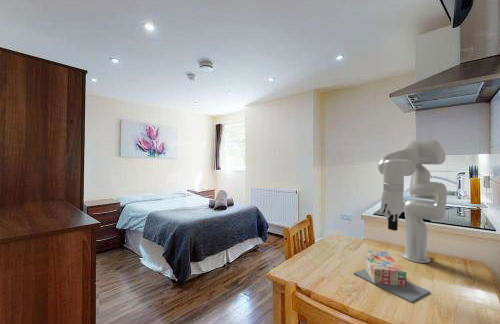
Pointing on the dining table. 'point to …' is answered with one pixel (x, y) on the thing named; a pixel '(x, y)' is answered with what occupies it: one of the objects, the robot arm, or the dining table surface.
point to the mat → (398, 288)
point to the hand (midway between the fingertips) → (392, 229)
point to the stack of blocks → (384, 269)
